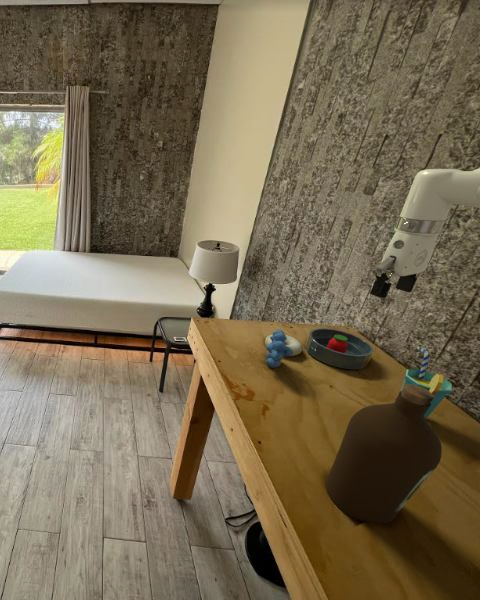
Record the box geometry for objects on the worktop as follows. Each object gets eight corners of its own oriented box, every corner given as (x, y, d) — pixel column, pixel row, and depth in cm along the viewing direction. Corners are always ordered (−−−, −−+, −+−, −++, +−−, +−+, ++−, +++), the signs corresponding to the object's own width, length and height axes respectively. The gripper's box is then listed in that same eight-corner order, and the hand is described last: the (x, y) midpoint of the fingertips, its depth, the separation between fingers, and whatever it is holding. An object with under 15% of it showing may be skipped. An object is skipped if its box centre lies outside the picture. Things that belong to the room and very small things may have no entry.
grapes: (289, 382, 85) (301, 345, 80) (260, 375, 88) (271, 338, 83) (286, 359, 95) (298, 324, 89) (261, 353, 97) (270, 319, 92)
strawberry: (332, 348, 99) (338, 332, 96) (347, 355, 95) (353, 339, 92) (322, 351, 97) (328, 335, 95) (336, 359, 94) (343, 342, 91)
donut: (291, 341, 103) (259, 339, 105) (294, 332, 102) (261, 330, 103) (306, 360, 94) (271, 357, 96) (310, 350, 93) (274, 347, 94)
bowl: (327, 337, 105) (331, 324, 103) (379, 363, 92) (386, 349, 90) (293, 347, 100) (297, 333, 98) (343, 375, 87) (349, 360, 85)
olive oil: (317, 503, 56) (370, 394, 46) (324, 462, 63) (372, 360, 53) (398, 546, 50) (482, 432, 39) (396, 495, 57) (466, 387, 46)
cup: (375, 389, 82) (399, 340, 76) (414, 398, 79) (442, 348, 73) (397, 428, 71) (427, 375, 64) (444, 440, 68) (480, 385, 61)
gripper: (414, 233, 68) (384, 304, 75) (462, 225, 73) (430, 293, 80) (375, 226, 74) (351, 293, 82) (421, 220, 79) (395, 283, 87)
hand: (390, 293), depth 81 cm, fingers open, 9 cm apart
